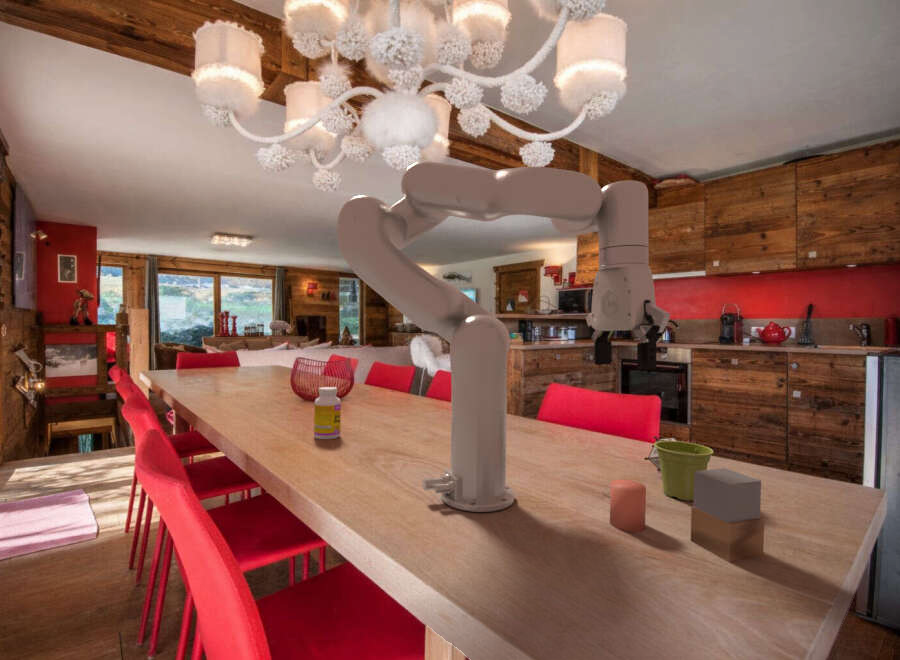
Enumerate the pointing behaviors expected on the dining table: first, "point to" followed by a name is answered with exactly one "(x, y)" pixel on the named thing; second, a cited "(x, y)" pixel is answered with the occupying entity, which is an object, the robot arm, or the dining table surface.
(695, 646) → the dining table surface
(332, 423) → the supplement bottle
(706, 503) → the tower top
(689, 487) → the plant pot
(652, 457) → the game die
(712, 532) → the tower base
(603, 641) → the dining table surface
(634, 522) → the cylinder
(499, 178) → the robot arm
